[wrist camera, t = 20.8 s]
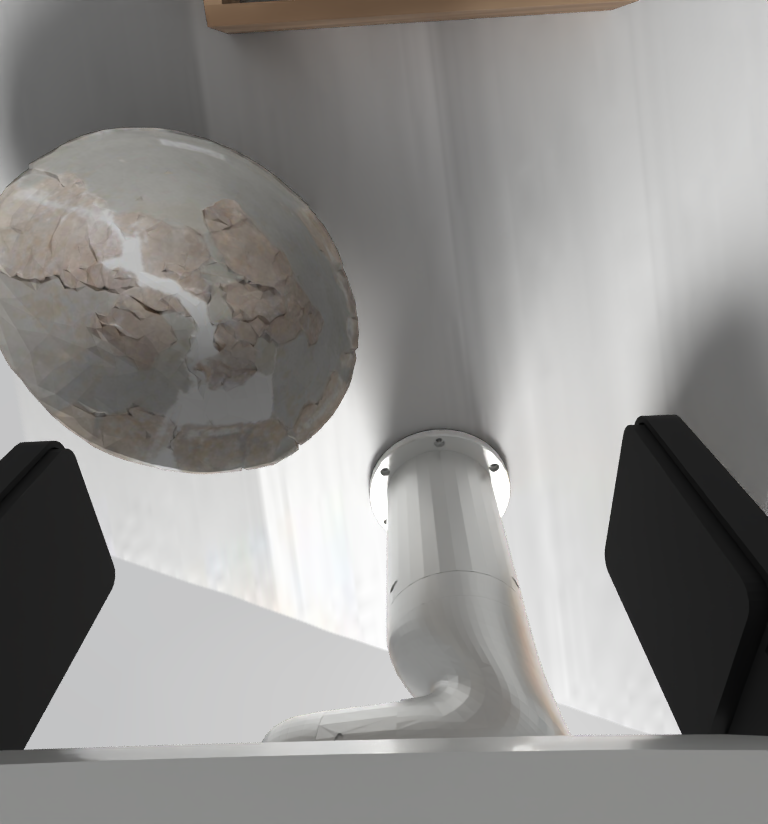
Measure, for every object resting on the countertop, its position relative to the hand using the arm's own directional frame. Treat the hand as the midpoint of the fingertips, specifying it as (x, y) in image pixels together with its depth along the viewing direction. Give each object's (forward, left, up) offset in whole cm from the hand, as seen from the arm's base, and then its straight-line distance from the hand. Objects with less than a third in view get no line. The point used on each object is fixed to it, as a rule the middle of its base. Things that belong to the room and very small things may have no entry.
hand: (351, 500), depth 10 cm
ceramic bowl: (-6, +13, -37) cm, 39 cm away
